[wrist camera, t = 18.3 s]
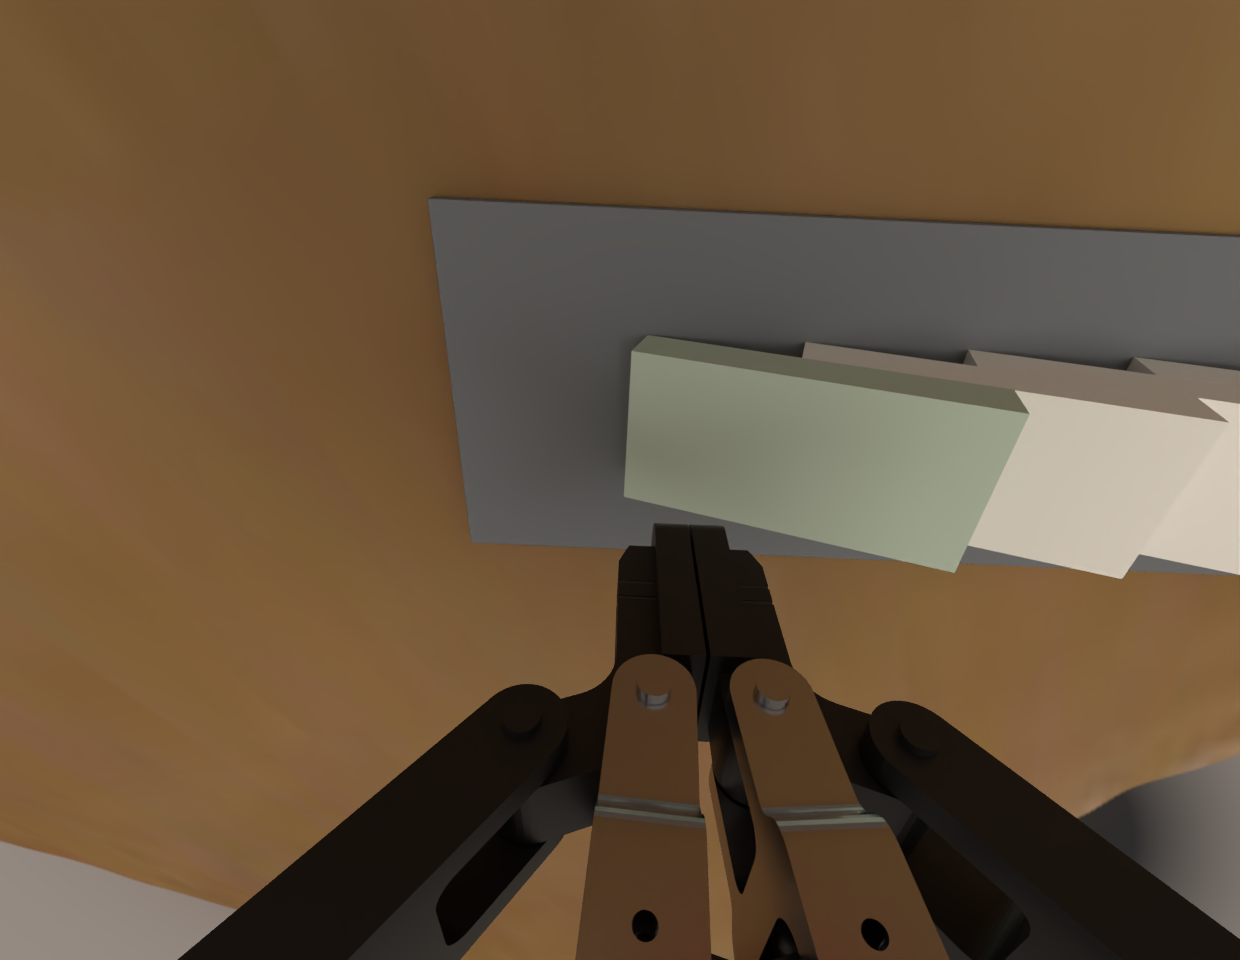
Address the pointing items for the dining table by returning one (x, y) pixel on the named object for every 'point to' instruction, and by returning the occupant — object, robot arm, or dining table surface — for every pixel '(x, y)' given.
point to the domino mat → (767, 331)
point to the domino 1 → (817, 447)
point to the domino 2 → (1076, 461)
